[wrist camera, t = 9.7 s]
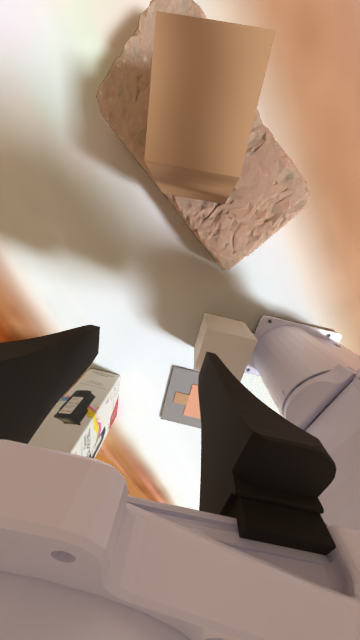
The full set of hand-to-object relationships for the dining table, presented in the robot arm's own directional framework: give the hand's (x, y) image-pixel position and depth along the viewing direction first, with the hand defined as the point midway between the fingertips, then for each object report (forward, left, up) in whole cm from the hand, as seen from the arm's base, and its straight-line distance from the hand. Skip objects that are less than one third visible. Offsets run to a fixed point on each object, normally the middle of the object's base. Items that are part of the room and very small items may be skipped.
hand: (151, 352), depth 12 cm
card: (-6, +13, -10) cm, 18 cm away
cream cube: (-7, +2, -11) cm, 13 cm away
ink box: (+7, +16, -11) cm, 21 cm away
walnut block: (0, -13, -6) cm, 14 cm away
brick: (0, -14, -11) cm, 18 cm away
